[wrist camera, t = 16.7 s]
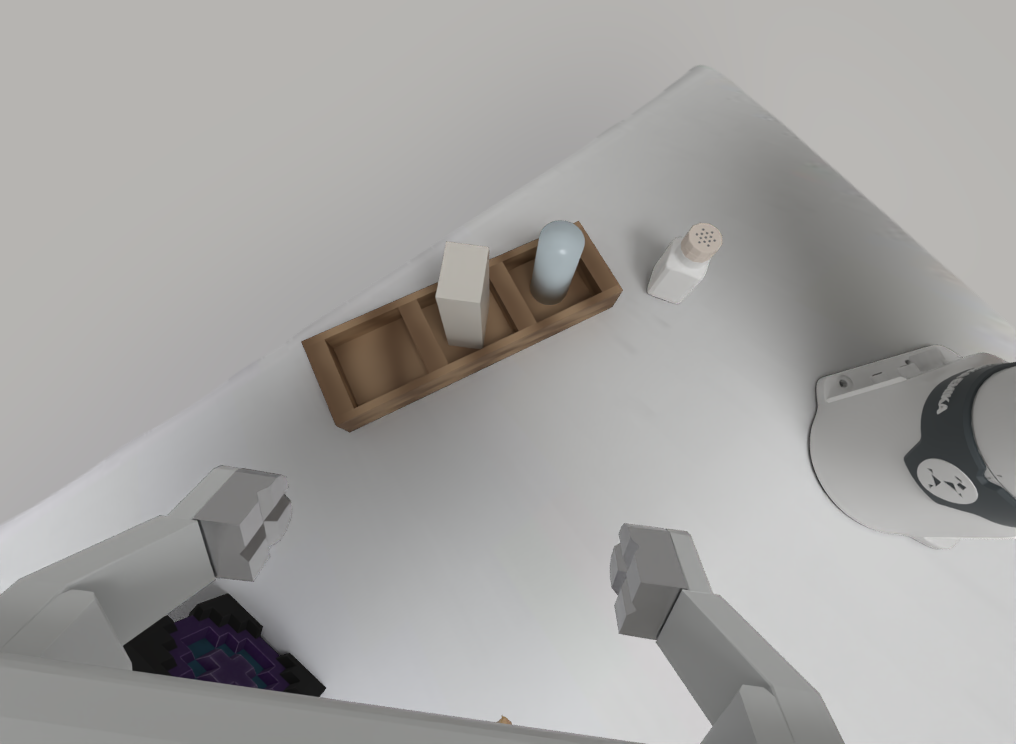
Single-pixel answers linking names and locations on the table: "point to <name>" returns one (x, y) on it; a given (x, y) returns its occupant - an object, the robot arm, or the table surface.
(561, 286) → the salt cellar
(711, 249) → the pepper shaker
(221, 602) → the energy cube
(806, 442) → the table surface
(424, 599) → the table surface
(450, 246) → the clay block
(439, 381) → the rack
